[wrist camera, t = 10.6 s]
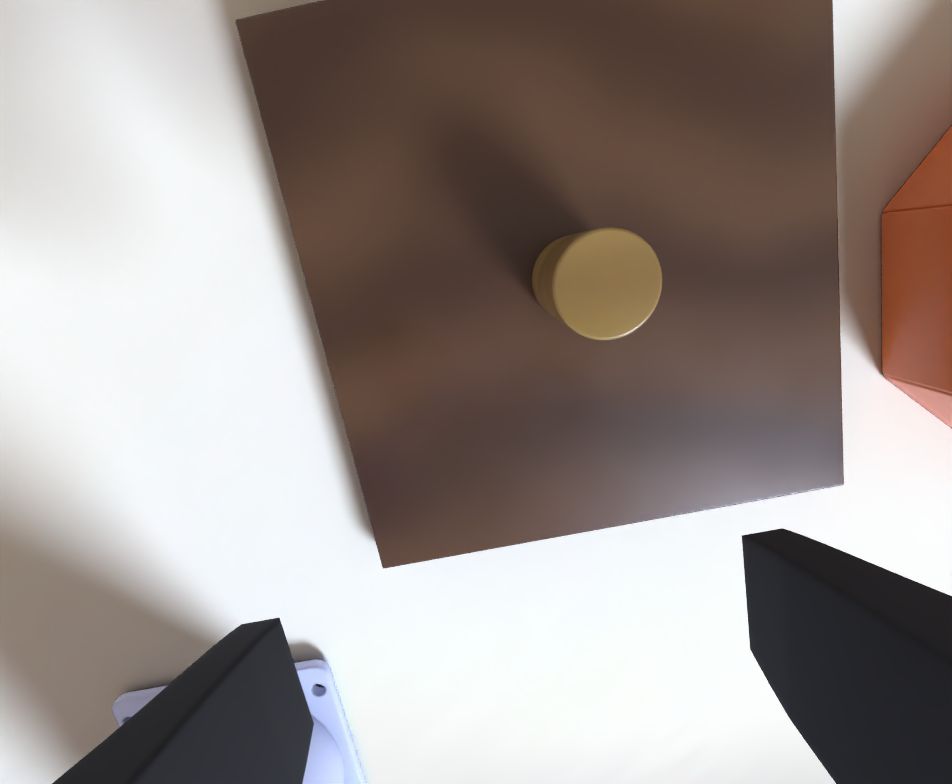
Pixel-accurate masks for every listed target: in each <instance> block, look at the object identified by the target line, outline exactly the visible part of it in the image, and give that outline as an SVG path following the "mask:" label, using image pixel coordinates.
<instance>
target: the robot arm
mask: <svg viewBox="0 0 952 784" xmlns="http://www.w3.org/2000/svg"><path fill="white" fill-rule="evenodd" d="M742 542H743V556H744V570H745V583H746V597H747V610H748V624H749V637H750V649H751V651H752V653H753V655H754V657H755V659H756V660H757V662H758V664H759V666H760V668H761V669H762V671H763V673H764V675H765V677H766V678H767V680H768V682H769V684H770V686H771V687H772V689H773V691H774V692H775V694H776V696H777V698H778V699H779V701H780V703H781V704H782V706H783V708H784V710H785V711H786V713H787V715H788V716H789V718H790V719H791V721H792V722H793V724H794V725H795V726H796V728H797V729H798V731H799V732H800V734H801V735H802V736H803V738H804V739H805V741H806V742H807V743H808V745H809V746H810V748H811V749H812V750H813V752H814V753H815V755H816V756H817V757H818V759H819V760H820V762H821V763H822V764H823V766H824V767H825V769H826V770H827V771H828V773H829V774H830V776H831V777H832V778H833V780H834V781H835V782H836V784H952V596H950V595H947V594H945V593H942V592H940V591H937V590H935V589H932V588H930V587H927V586H925V585H922V584H920V583H917V582H915V581H913V580H910V579H908V578H905V577H903V576H900V575H898V574H896V573H893V572H891V571H888V570H886V569H884V568H881V567H879V566H876V565H874V564H872V563H869V562H867V561H864V560H862V559H860V558H857V557H855V556H852V555H850V554H848V553H845V552H843V551H840V550H838V549H835V548H833V547H831V546H828V545H826V544H823V543H821V542H818V541H816V540H813V539H811V538H808V537H805V536H803V535H800V534H797V533H794V532H791V531H789V530H786V529H777V530H771V531H766V532H760V533H754V534H749V535H743V536H742ZM315 684H321V685H323V686H324V687H318V686H316V685H315ZM112 711H113V714H114V716H115V719H116V721H117V723H118V725H119V728H118V729H117V730H116V731H115V732H114V733H113V734H111V735H110V736H109V737H108V738H107V739H106V740H104V741H103V742H102V743H101V744H100V745H98V746H97V747H96V748H95V749H94V750H92V751H91V752H90V753H89V754H88V755H86V756H85V757H84V758H83V759H81V760H80V761H79V762H78V763H77V764H75V765H74V766H73V767H72V768H71V769H69V770H68V771H67V772H66V773H64V774H63V775H62V776H61V777H60V778H58V779H57V780H56V781H55V782H54V783H52V784H367V782H366V779H365V776H364V773H363V770H362V766H361V763H360V760H359V757H358V754H357V750H356V747H355V744H354V741H353V738H352V735H351V731H350V728H349V725H348V722H347V719H346V716H345V712H344V709H343V706H342V703H341V700H340V696H339V693H338V690H337V687H336V684H335V681H334V677H333V674H332V671H331V668H330V666H329V665H328V664H327V663H326V662H324V661H322V660H309V661H303V662H297V663H294V661H293V658H292V655H291V652H290V649H289V646H288V643H287V640H286V637H285V634H284V631H283V628H282V624H281V621H280V618H275V619H269V620H264V621H258V622H253V623H247V624H242V625H240V626H239V627H237V628H236V629H235V630H233V631H232V632H231V633H229V634H228V635H227V636H225V637H224V638H223V639H222V640H220V641H219V642H218V643H217V644H216V645H214V646H213V647H212V648H211V649H210V650H208V651H207V652H206V653H205V654H204V655H203V656H201V657H200V658H199V659H198V660H197V661H196V662H194V663H193V664H192V665H191V666H190V667H189V668H187V669H186V670H185V671H184V672H183V673H182V674H181V675H179V676H178V677H177V678H176V679H175V680H174V681H172V682H171V683H170V684H169V685H167V686H161V687H156V688H150V689H144V690H139V691H133V692H127V693H124V694H122V695H121V696H120V697H119V698H118V699H117V700H116V701H115V703H114V704H113V707H112Z"/></svg>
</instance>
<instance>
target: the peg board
mask: <svg viewBox="0 0 952 784" xmlns="http://www.w3.org/2000/svg"><path fill="white" fill-rule="evenodd" d="M236 26H237V30H238V33H239V37H240V41H241V45H242V48H243V52H244V56H245V59H246V63H247V67H248V71H249V74H250V78H251V82H252V85H253V89H254V93H255V96H256V100H257V104H258V108H259V111H260V115H261V119H262V122H263V126H264V130H265V133H266V137H267V141H268V145H269V148H270V152H271V156H272V159H273V163H274V167H275V171H276V174H277V178H278V182H279V185H280V189H281V193H282V196H283V200H284V204H285V208H286V211H287V215H288V219H289V222H290V226H291V230H292V233H293V237H294V241H295V245H296V248H297V252H298V256H299V259H300V263H301V267H302V271H303V274H304V278H305V282H306V285H307V289H308V293H309V296H310V300H311V304H312V308H313V311H314V315H315V319H316V322H317V326H318V330H319V333H320V337H321V341H322V345H323V348H324V352H325V356H326V359H327V363H328V367H329V371H330V374H331V378H332V382H333V385H334V389H335V393H336V396H337V400H338V404H339V408H340V411H341V415H342V419H343V422H344V426H345V430H346V433H347V437H348V441H349V445H350V448H351V452H352V456H353V459H354V463H355V467H356V471H357V474H358V478H359V482H360V485H361V489H362V493H363V496H364V500H365V504H366V508H367V511H368V515H369V519H370V522H371V526H372V530H373V533H374V537H375V541H376V545H377V548H378V552H379V556H380V559H381V563H382V567H383V568H389V567H395V566H400V565H406V564H411V563H417V562H422V561H428V560H433V559H439V558H444V557H450V556H455V555H461V554H466V553H472V552H477V551H483V550H488V549H494V548H499V547H505V546H510V545H516V544H521V543H527V542H532V541H538V540H543V539H549V538H554V537H560V536H565V535H571V534H576V533H582V532H587V531H593V530H598V529H604V528H609V527H615V526H620V525H626V524H631V523H637V522H642V521H648V520H653V519H659V518H664V517H670V516H675V515H681V514H686V513H692V512H697V511H703V510H708V509H714V508H719V507H725V506H730V505H736V504H741V503H747V502H752V501H758V500H763V499H769V498H774V497H780V496H785V495H791V494H796V493H802V492H807V491H813V490H818V489H824V488H829V487H835V486H840V485H843V484H844V476H843V433H842V390H841V347H840V304H839V261H838V218H837V175H836V132H835V89H834V46H833V3H832V0H323V1H318V2H314V3H309V4H305V5H300V6H296V7H291V8H287V9H282V10H277V11H273V12H268V13H264V14H259V15H255V16H250V17H246V18H241V19H237V20H236Z"/></svg>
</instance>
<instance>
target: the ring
mask: <svg viewBox="0 0 952 784" xmlns="http://www.w3.org/2000/svg"><path fill="white" fill-rule="evenodd" d="M883 212H884V213H883V214H882V372H883V374H884V377H885V378H886V379H887V380H889V381H890V382H891V383H893V384H894V385H895V386H897V387H898V388H899V389H900V390H902V391H903V392H904V393H906V394H907V395H908V396H910V397H911V398H912V399H914V400H915V401H916V402H918V403H919V404H920V405H922V406H923V407H924V408H926V409H927V410H928V411H929V412H931V413H932V414H933V415H935V416H936V417H937V418H939V419H940V420H941V421H943V422H944V423H945V424H947V425H948V426H949V427H951V428H952V126H951V127H950V128H949V130H948V131H947V132H946V133H945V135H944V136H943V137H942V138H941V139H940V141H939V142H938V143H937V144H936V146H935V147H934V148H933V149H932V151H931V152H930V153H929V154H928V155H927V157H926V158H925V159H924V160H923V162H922V163H921V164H920V165H919V167H918V168H917V169H916V170H915V171H914V173H913V174H912V175H911V176H910V178H909V179H908V180H907V181H906V183H905V184H904V185H903V186H902V187H901V189H900V190H899V191H898V192H897V194H896V195H895V196H894V197H893V198H892V200H891V201H890V202H889V203H888V205H887V206H886V207H885V208H884V210H883Z"/></svg>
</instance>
